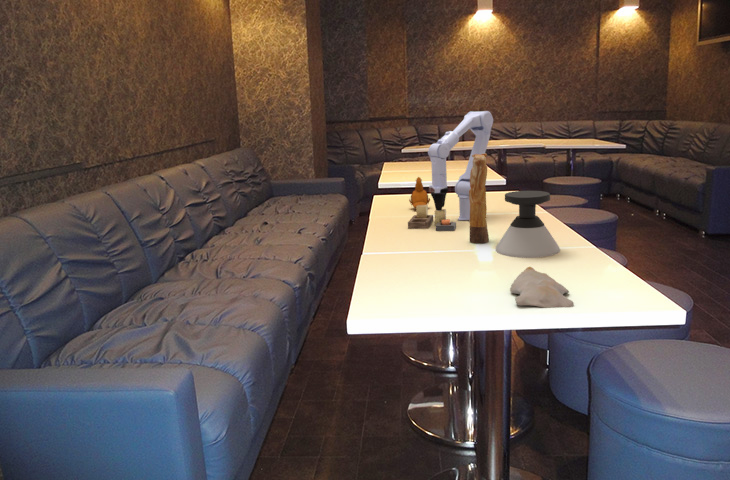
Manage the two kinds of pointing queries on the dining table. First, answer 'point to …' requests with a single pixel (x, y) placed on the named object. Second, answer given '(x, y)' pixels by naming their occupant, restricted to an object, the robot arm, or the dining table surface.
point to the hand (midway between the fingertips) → (440, 208)
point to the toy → (419, 194)
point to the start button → (445, 222)
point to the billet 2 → (440, 215)
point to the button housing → (445, 226)
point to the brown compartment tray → (420, 222)
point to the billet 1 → (422, 211)
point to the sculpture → (478, 200)
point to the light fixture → (527, 228)
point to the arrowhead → (539, 290)
